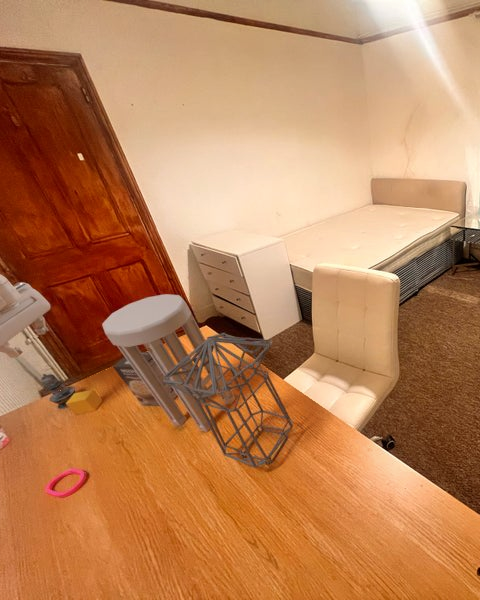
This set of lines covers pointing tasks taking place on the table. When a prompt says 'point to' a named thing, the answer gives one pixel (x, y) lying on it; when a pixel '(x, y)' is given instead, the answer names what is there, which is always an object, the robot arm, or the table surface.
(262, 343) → the geometric lantern
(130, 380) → the coffee box
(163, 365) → the stool
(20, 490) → the table surface
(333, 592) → the table surface
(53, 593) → the table surface
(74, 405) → the yellow block
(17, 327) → the robot arm
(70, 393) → the dark gray tiered ornament
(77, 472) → the fitness band
